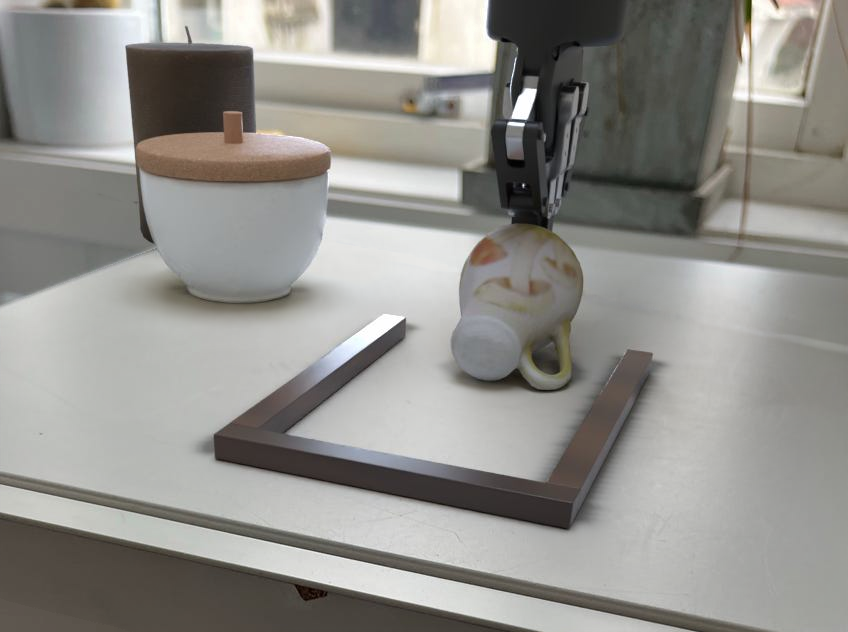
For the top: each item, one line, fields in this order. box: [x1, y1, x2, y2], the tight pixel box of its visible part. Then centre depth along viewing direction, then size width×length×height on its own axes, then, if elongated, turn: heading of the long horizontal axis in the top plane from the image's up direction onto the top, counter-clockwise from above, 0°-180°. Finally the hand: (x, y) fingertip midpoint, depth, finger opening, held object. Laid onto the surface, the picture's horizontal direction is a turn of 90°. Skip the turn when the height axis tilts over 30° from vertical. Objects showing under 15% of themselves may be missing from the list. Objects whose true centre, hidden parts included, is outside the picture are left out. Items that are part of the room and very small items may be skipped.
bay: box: [213, 313, 654, 530], centre depth 52 cm, size 22×16×1 cm
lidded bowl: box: [134, 111, 332, 304], centre depth 67 cm, size 13×13×11 cm
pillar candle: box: [124, 25, 257, 245], centre depth 79 cm, size 10×10×15 cm
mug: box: [450, 223, 584, 391], centre depth 58 cm, size 8×10×10 cm
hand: (526, 279), depth 62 cm, fingers closed
